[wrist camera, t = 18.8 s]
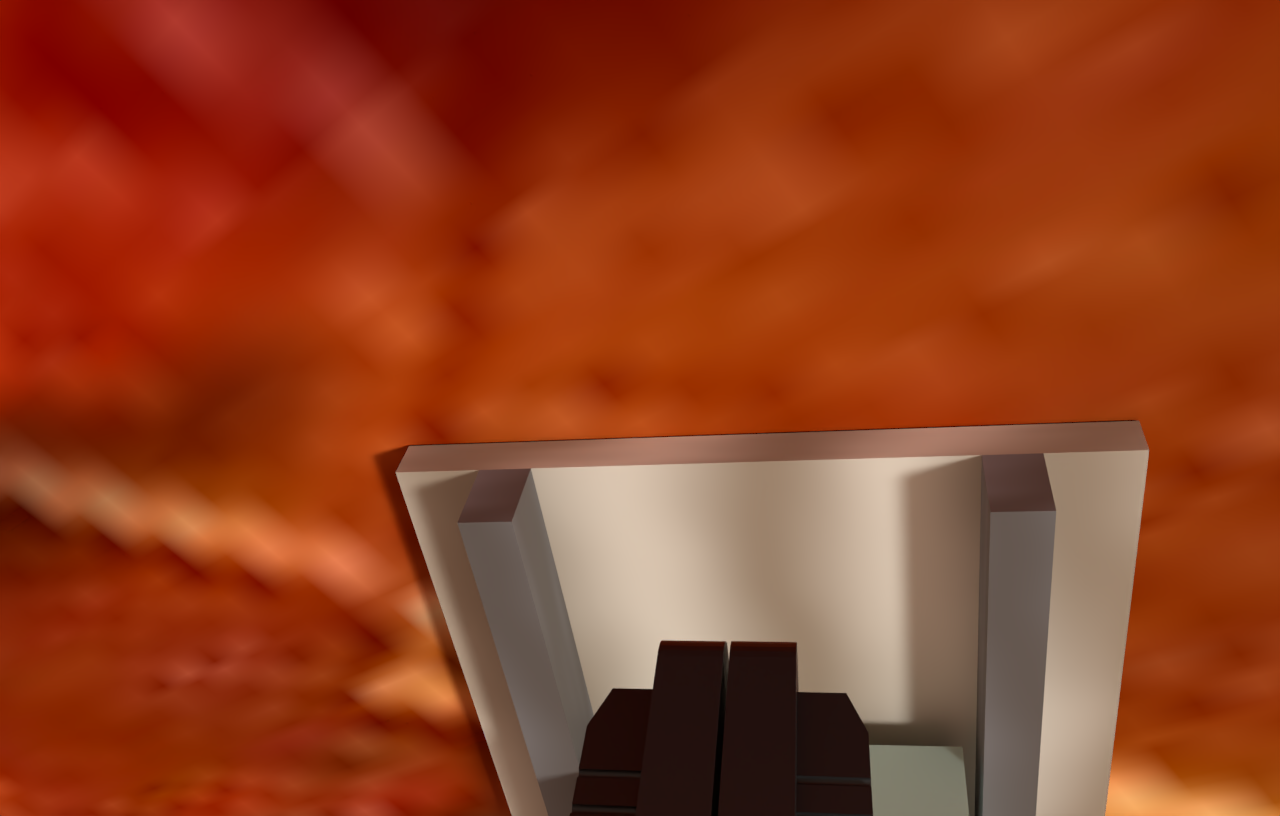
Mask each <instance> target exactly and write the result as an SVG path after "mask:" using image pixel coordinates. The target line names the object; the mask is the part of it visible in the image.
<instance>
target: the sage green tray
mask: <svg viewBox="0 0 1280 816" xmlns="http://www.w3.org/2000/svg"><path fill="white" fill-rule="evenodd" d="M869 750H870V768H871V787H872V804H873V816H969V809H968V798H967V788H966V778H965V768H964V758H963V748H962V747H950V746H900V745H869Z"/></svg>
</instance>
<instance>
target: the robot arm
mask: <svg viewBox="0 0 1280 816" xmlns="http://www.w3.org/2000/svg"><path fill="white" fill-rule="evenodd" d="M570 816H873V804H872V787H871V768H870V750H869V733H868V731H867V729H866V727H865V726H864V724H863V722H862V720H861V718H860V717H859V715H858V713H857V711H856V709H855V708H854V706H853V704H852V702H851V700H850V699H849V697H848V695H847V693H823V692H799V686H798V654H797V642H759V641H731V645H730V653H729V655H728V646H727V642H726V641H674V640H662V641H661V642H660V645H659V649H658V655H657V662H656V669H655V676H654V683H653V689H625V688H613V689H612V690H611V692H610V693H609V694H608V696H607V697H606V699H605V700H604V702H603V703H602V704H601V706H600V707H599V709H598V710H597V712H596V713H595V715H594V716H593V717H592V719H591V720H590V722H589V723H588V725H587V728H586V733H585V738H584V743H583V748H582V754H581V759H580V764H579V776H578V777H577V780H576V785H575V790H574V795H573V801H572V813H570Z"/></svg>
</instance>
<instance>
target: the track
mask: <svg viewBox="0 0 1280 816" xmlns="http://www.w3.org/2000/svg"><path fill="white" fill-rule="evenodd" d="M1148 456H1149V448H1148V445H1147V442H1146V440H1145V437H1144V434H1143V431H1142V428H1141V425H1140V422H1139V421H1116V422H1087V423H1058V424H1029V425H1000V426H971V427H942V428H914V429H885V430H856V431H827V432H798V433H769V434H740V435H711V436H682V437H653V438H624V439H596V440H567V441H538V442H509V443H480V444H451V445H422V446H409V447H408V449H407V451H406V453H405V455H404V457H403V459H402V461H401V463H400V465H399V466H398V468H397V470H396V472H395V473H396V476H397V479H398V481H399V484H400V487H401V490H402V493H403V496H404V499H405V502H406V505H407V508H408V511H409V514H410V517H411V520H412V523H413V526H414V529H415V532H416V535H417V538H418V540H419V543H420V546H421V549H422V552H423V555H424V558H425V561H426V564H427V567H428V570H429V573H430V576H431V579H432V582H433V585H434V588H435V591H436V594H437V597H438V600H439V602H440V605H441V608H442V611H443V614H444V617H445V620H446V623H447V626H448V629H449V632H450V635H451V638H452V641H453V644H454V647H455V650H456V653H457V656H458V659H459V661H460V664H461V667H462V670H463V673H464V676H465V679H466V682H467V685H468V688H469V691H470V694H471V697H472V700H473V703H474V706H475V709H476V712H477V715H478V718H479V720H480V723H481V726H482V729H483V732H484V735H485V738H486V741H487V744H488V747H489V750H490V753H491V756H492V759H493V762H494V765H495V768H496V771H497V774H498V777H499V779H500V782H501V785H502V788H503V791H504V794H505V797H506V800H507V803H508V806H509V809H510V812H511V815H512V816H570V813H572V801H573V795H574V790H575V785H576V780H577V777H578V776H579V764H580V759H581V754H582V748H583V743H584V738H585V733H586V728H587V725H588V723H589V722H590V720H591V719H592V717H593V716H594V715H595V713H596V712H597V710H598V709H599V707H600V706H601V704H602V703H603V702H604V700H605V699H606V697H607V696H608V694H609V693H610V692H611V690H612V689H613V688H625V689H653V683H654V676H655V669H656V662H657V655H658V649H659V645H660V642H661V641H662V640H674V641H726V642H727V646H728V655H729V653H730V645H731V641H759V642H797V654H798V686H799V692H823V693H847V695H848V697H849V699H850V700H851V702H852V704H853V706H854V708H855V709H856V711H857V713H858V715H859V717H860V718H861V720H862V722H863V724H864V726H865V727H866V729H867V731H868V733H869V745H900V746H950V747H962V748H963V758H964V768H965V778H966V788H967V798H968V809H969V816H1105V811H1106V802H1107V794H1108V786H1109V778H1110V769H1111V761H1112V753H1113V745H1114V736H1115V728H1116V720H1117V712H1118V703H1119V695H1120V687H1121V679H1122V670H1123V662H1124V654H1125V646H1126V637H1127V629H1128V621H1129V613H1130V604H1131V596H1132V588H1133V579H1134V571H1135V563H1136V555H1137V546H1138V538H1139V530H1140V522H1141V513H1142V505H1143V497H1144V489H1145V480H1146V472H1147V464H1148Z"/></svg>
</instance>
